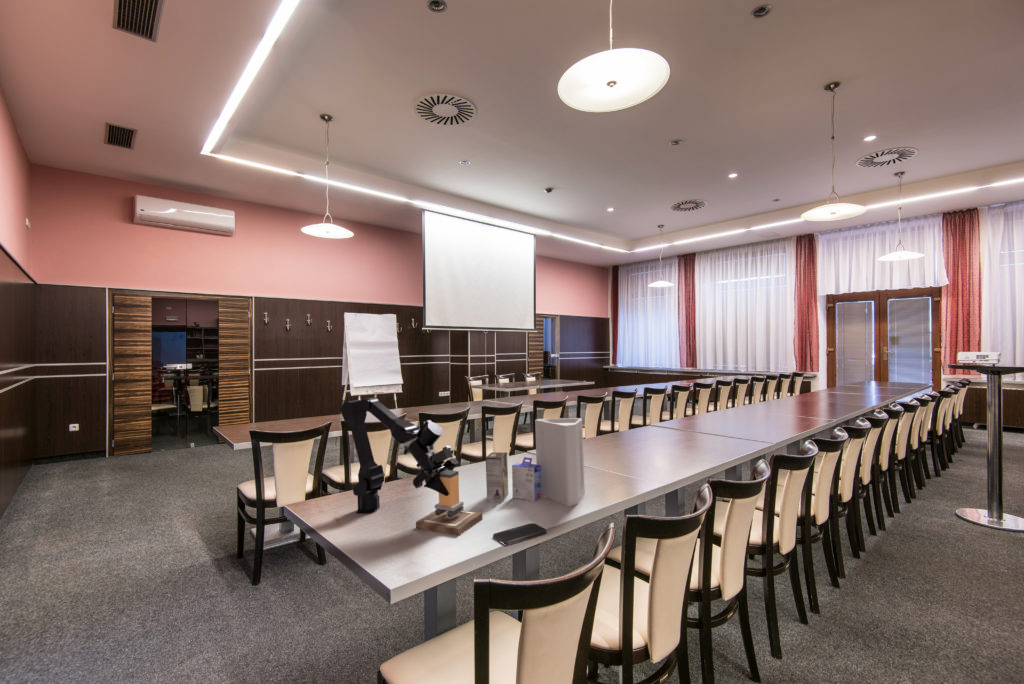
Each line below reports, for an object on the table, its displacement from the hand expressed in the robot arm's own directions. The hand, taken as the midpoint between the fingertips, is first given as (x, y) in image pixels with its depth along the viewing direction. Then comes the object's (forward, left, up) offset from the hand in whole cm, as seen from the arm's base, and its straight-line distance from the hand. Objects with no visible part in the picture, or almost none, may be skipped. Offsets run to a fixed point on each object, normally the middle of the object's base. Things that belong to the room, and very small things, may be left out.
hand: (452, 492), depth 144 cm
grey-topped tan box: (-1, +1, -7) cm, 7 cm away
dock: (-1, +1, -10) cm, 10 cm away
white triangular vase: (+38, +28, -10) cm, 48 cm away
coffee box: (+12, +26, -10) cm, 30 cm away
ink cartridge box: (+23, +26, -10) cm, 36 cm away
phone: (+22, -8, -11) cm, 26 cm away
